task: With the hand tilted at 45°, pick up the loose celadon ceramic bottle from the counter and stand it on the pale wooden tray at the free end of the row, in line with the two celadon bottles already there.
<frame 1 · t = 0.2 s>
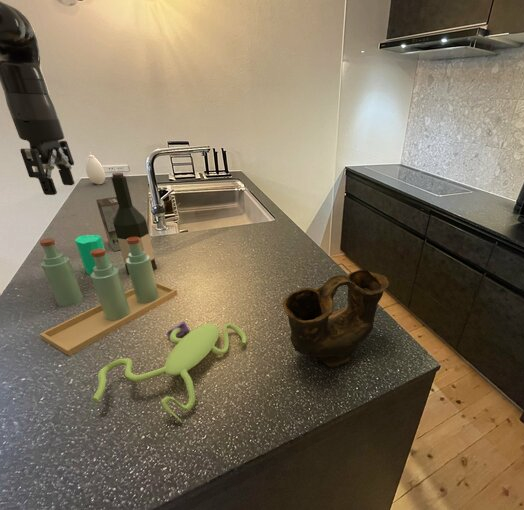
hand: (60, 189, 74), 28 cm above the worktop, tool pointing down, fingers open, 8 cm apart
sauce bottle: (99, 184, 170), on the worktop
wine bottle: (142, 271, 95), on the worktop
green polygonal prism: (98, 269, 94), on the worktop
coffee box: (121, 245, 109), on the worktop
loose bottle: (71, 301, 79), on the worktop
tray bottles: (117, 314, 76), resting on tray
tray: (118, 315, 76), on the worktop
pottery vessel: (334, 350, 71), on the worktop
figurine: (181, 370, 63), on the worktop
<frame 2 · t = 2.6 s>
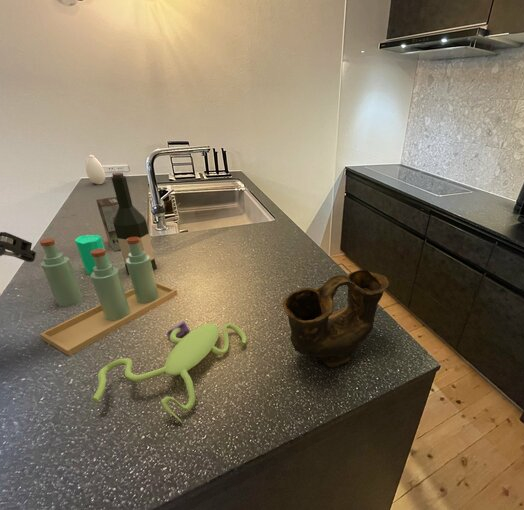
hand: (7, 257, 61), 19 cm above the worktop, tool tilted 45°, fingers open, 8 cm apart
nothing on the worktop moved.
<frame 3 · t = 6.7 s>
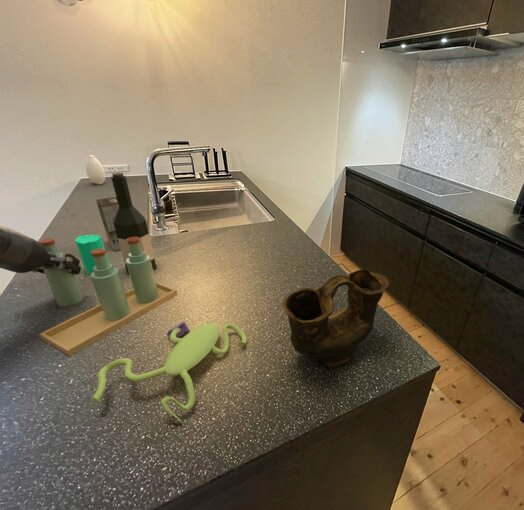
hand: (64, 271, 77), 8 cm above the worktop, tool tilted 45°, fingers closed on loose bottle, 5 cm apart
loose bottle: (71, 301, 79), on the worktop, touching gripper
everything else where it was.
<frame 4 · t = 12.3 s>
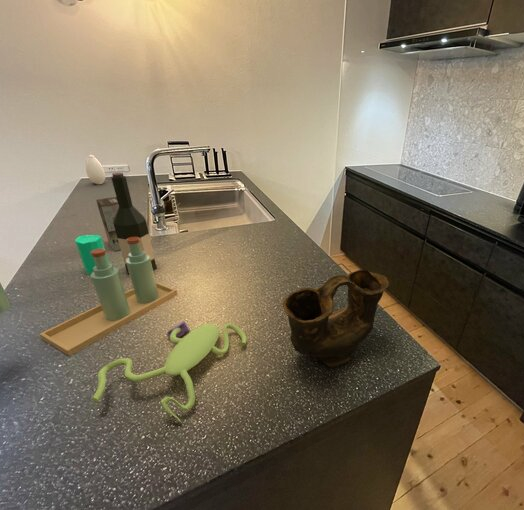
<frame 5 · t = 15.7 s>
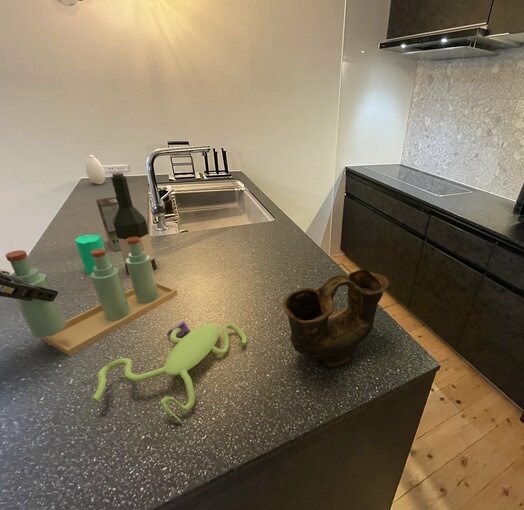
hand: (45, 291, 61), 13 cm above the worktop, tool tilted 45°, fingers closed on loose bottle, 5 cm apart
loose bottle: (49, 329, 63), point 5 cm above the worktop, touching gripper
everything else where it was.
when the fingers open (9 cm above the worktop, at t = 18.1 s): loose bottle stays where it is, resting on tray.
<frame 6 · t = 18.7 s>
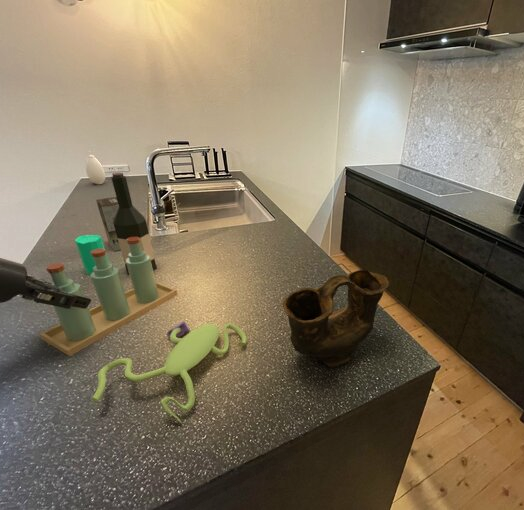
hand: (76, 297, 66), 9 cm above the worktop, tool tilted 45°, fingers open, 8 cm apart
loose bottle: (81, 333, 69), resting on tray
everything else where it was.
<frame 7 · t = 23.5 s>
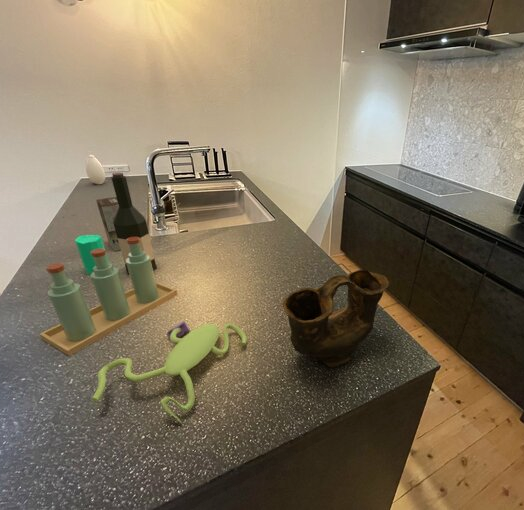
nothing on the worktop moved.
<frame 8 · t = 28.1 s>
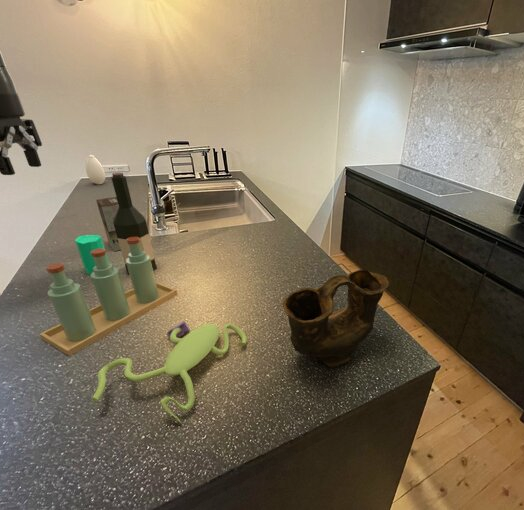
hand: (22, 170, 70), 32 cm above the worktop, tool pointing down, fingers open, 8 cm apart
nothing on the worktop moved.
at the end: loose bottle 0.1 cm from the target spot in the tray, point 0.5 cm above the tray's base; loose bottle tilted 0°; the gripper is holding nothing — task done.
